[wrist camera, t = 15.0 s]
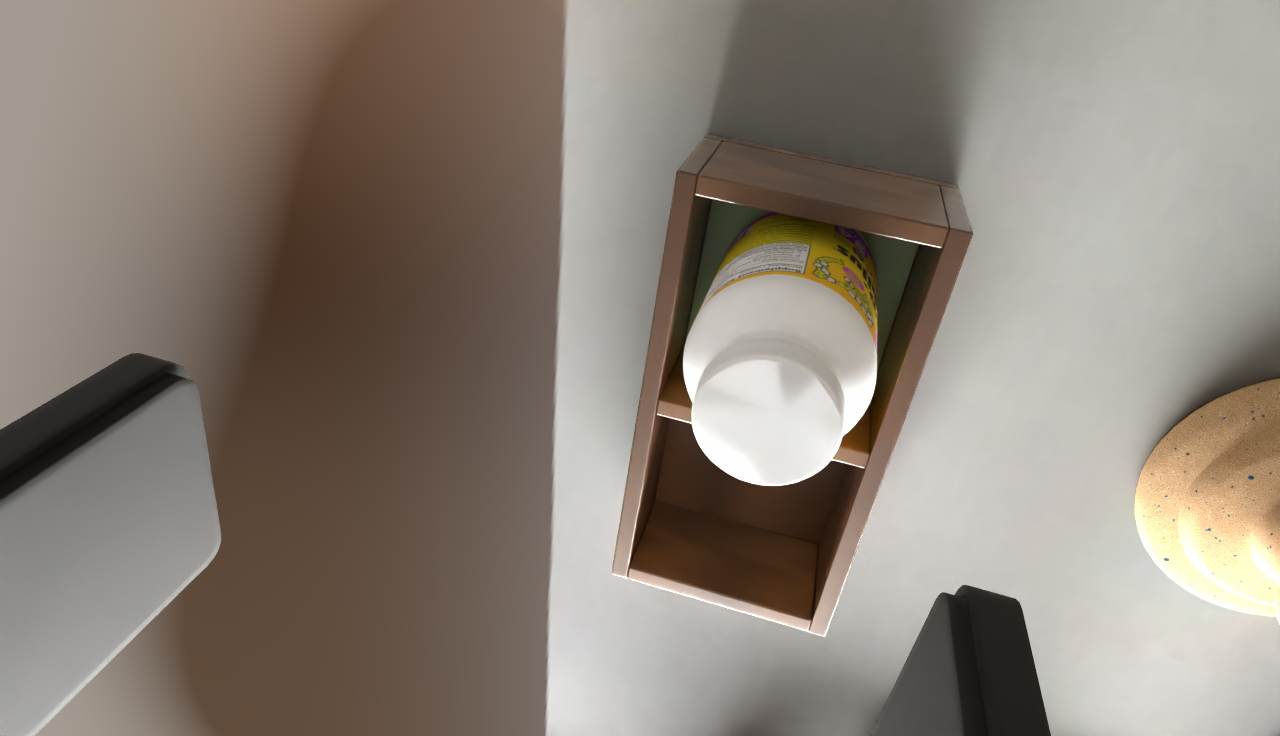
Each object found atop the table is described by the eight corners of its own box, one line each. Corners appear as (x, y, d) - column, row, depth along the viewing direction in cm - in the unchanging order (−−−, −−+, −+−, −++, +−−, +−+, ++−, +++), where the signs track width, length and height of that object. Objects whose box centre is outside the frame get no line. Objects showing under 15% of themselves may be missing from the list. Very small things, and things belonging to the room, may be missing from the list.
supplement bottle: (886, 332, 36) (890, 509, 25) (740, 349, 38) (685, 519, 27) (866, 185, 33) (861, 313, 22) (710, 213, 35) (636, 341, 24)
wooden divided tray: (641, 499, 45) (611, 574, 40) (706, 133, 34) (676, 169, 29) (831, 552, 43) (824, 637, 38) (958, 184, 33) (973, 232, 28)
